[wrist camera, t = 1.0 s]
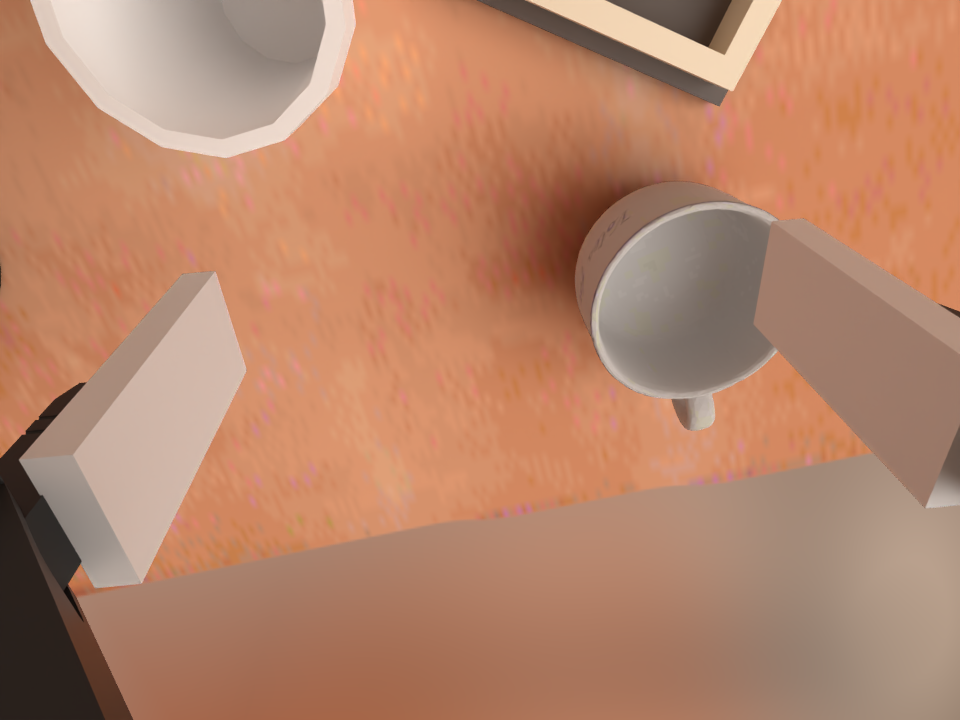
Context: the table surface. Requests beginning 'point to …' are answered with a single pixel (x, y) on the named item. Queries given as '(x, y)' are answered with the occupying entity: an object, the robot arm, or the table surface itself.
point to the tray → (660, 35)
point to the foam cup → (203, 65)
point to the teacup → (676, 293)
